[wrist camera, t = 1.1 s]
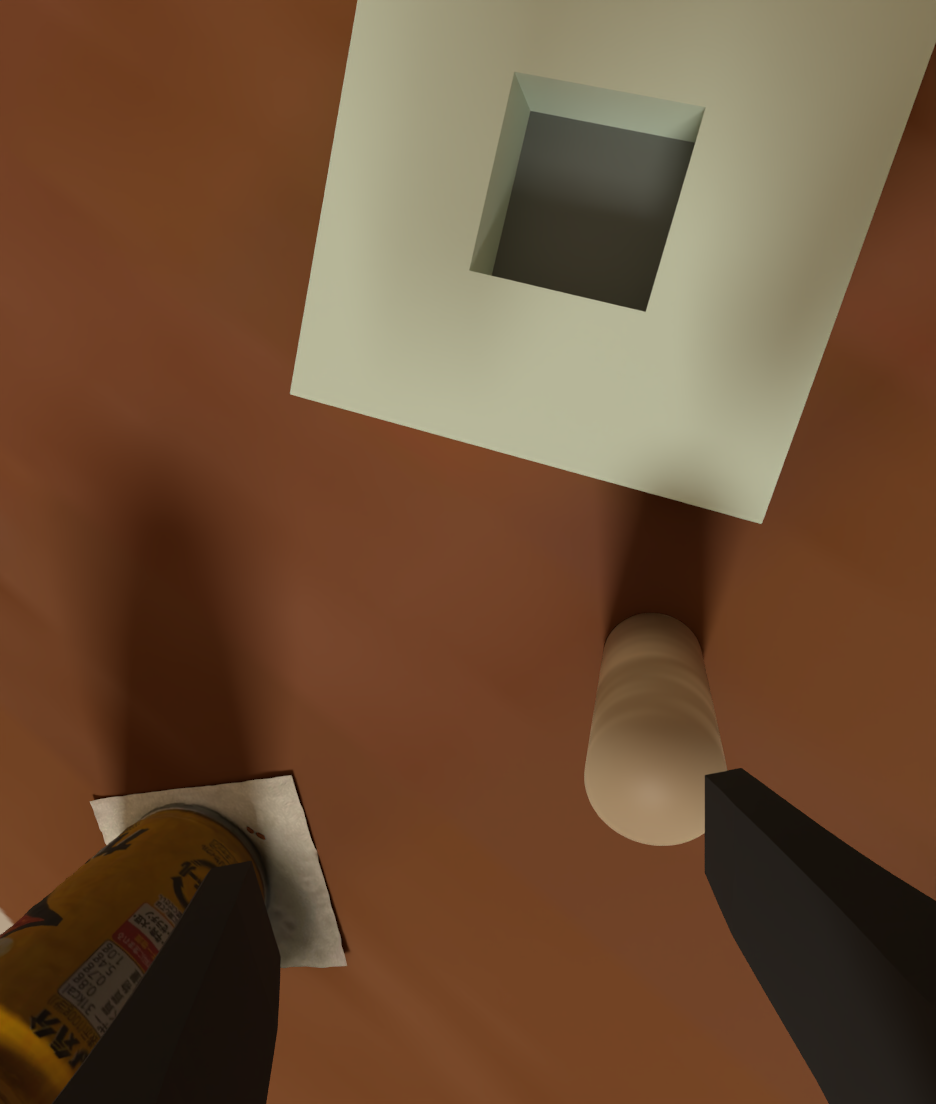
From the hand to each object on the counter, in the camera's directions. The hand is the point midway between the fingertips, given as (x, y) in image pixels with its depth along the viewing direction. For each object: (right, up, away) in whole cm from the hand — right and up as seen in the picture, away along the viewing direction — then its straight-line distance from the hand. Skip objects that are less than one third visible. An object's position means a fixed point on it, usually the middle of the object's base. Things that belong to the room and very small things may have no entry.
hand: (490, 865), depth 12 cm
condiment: (-9, -7, +15) cm, 19 cm away
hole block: (+3, +14, +8) cm, 16 cm away
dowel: (+5, +2, +10) cm, 11 cm away
